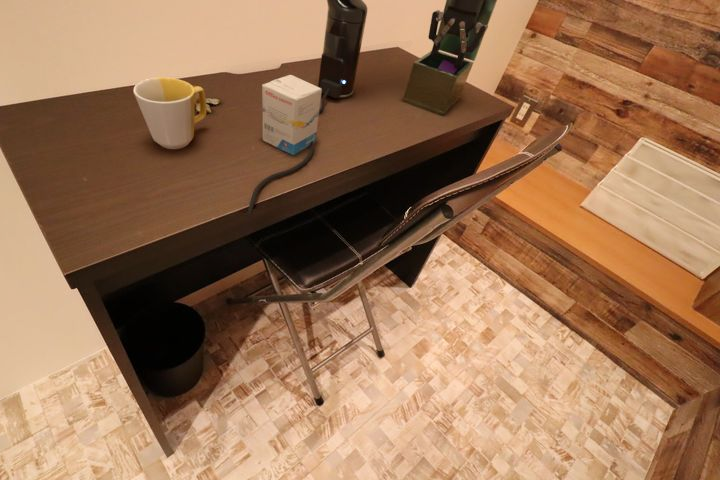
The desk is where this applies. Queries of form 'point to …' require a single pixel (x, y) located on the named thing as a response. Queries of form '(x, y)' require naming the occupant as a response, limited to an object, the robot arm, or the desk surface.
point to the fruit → (208, 100)
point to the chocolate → (448, 67)
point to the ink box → (290, 113)
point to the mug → (170, 109)
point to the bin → (436, 83)
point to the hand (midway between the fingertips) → (444, 63)
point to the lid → (453, 42)
